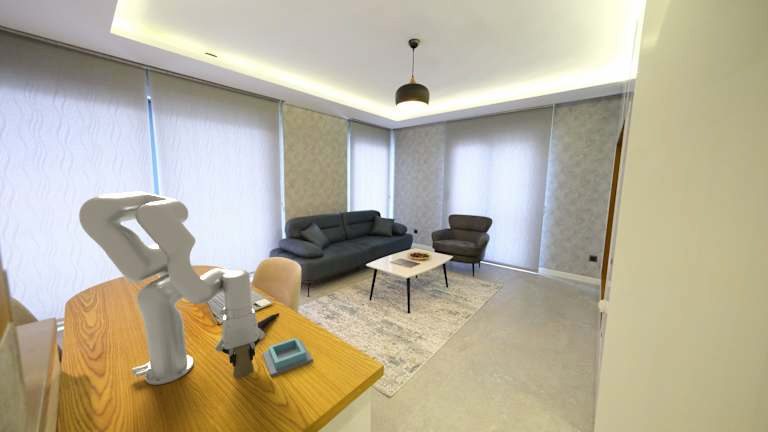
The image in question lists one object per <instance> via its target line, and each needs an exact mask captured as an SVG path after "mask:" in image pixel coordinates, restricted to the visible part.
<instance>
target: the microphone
mask: <svg viewBox="0 0 768 432" xmlns="http://www.w3.org/2000/svg"><path fill="white" fill-rule="evenodd" d="M279 315H280V312H277V313H274V314H271V315H270V316H268V317H266V318H264V319H262V320H260V321H259V322H258V321H257V323H258V328H259V329H261V330H262V331H263V330H265V328H267V326H268V325H269V324H271V323H273V322H274V321H275V320H276V319H277V317H278V316H279Z"/></svg>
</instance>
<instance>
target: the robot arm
mask: <svg viewBox="0 0 768 432" xmlns="http://www.w3.org/2000/svg"><path fill="white" fill-rule="evenodd" d="M79 209H80V210H79V211H78V212H79V214H78V217H79V224H80V226H81V228H82V230H84V232H85V233H86V235H87V236H89V238H91V240H93V241H94V242H95V243H96V244H97V245H98V246H100V248H101V249H102V250H103V251H104V253H105V254H106V255H107V257H108V258H109V259H110V261H111V262H112V263H113V264H114V266H115V267H116V269H118V271H119V272H120V274H122V275H123V277H124V278H125V279H126V280H128V281H129V282H132V283H139V282H142V281H145V280H147V279H150V278H153V277H154V276H157V275H159V276H160V277H158V278H156V279H154V280H152V281H150V282H149V283H147V284H146V285H144V286H143V287H142V288H141V289H140V290H139V292H138V293H137V296H136V299H135V300H136V304H137V308H138V310H139V312H140V313H141V314H140V315H141V317H142V320H143V325H144V331H145V332H144V333H145V337H146V346H147V352H148V358H149V362H148V363H147V362H146V363H145V365H144V364H143V365H140V366H136V367H132V369H131V373H132V375H133V376H134V375H135V377H136V378H139V377H143V376H144V379H145V382H146V383H147V384H149V385H157V386H158V385H163V384H168V383H171V382H174V381H176V380H178V379H180V378H181V377H182V378H183V376H185V375H186V374H188V373H189V371H190V370H191V369H192V368H193V366H194V359H193V357H192V356H190V355H187V354H188V353H187V344H186V343H187V342H186V336H185V327H184V326H185V325H184V318H183V314H182V313H181V311H180V310H179V309H178V307H177V303H179V302H180V301H181V300H183V299H186V300H187V301H188V302H189V303H192V304H195V305H203V304H206V303H208V302H209V301H211V300H212V299H213V298H215V297H216V296H217V295H219V294H220V293H223V301H224V307H223V308H222V309H219V315H220V316H221V315H223V317H222V327H221V329H222V331H221V333H222V335H221V338H220V339H219V341H218V342H217V344H216V345H215V348H214V349H215V350H216V351H218V352H222V353H224V354H226V355H228V357H229V364H232V367H233V368H234V366H235V353H234V351H233V350H234V348H236V347H239V346H242V345H246V344H249V343H250V348H249V351H250V358H251V360H252V361H254V356H256V352H255V351H256V350H255V349H256V347H257V345H258V344H259V343H260V341H261V340H262V339H263V338H264V337H265V336H266V333H265V332H264V331H263V329H262V330H261V329H259V328H258V318H257V313H256V311H255V310H254V308H253V306H252V303H253V302H252V293H251V292H252V291H251V289H252V288H251V277H250V273H249V272H248V271H246V270H243V269H236V270H231V269H226V268H221V267H220V268H219V267H216V268H212V269H210V270H209V271H208V270H207V272H204V273H202V275H200V276H199V275H198V273H197V272H196V271H195V269H194V268H193V266H192V264H191V260H190V259H191V258H190V257H191V252H192V249H193V248H194V246H195V244H196V238H195V237H194V235H193V234H192V233H191V232H190V231H189V229H188V228H187V227H186V226H185V225H184V223H185V222H186V221H187V219H188V218H189V210H188V207H187V206H186V205H185V204H184V203H183V202H182V201H180V200H177V199H174V198H171V197H166V196H162V195H157V194H155V193H154V194H152V193H149V192H148V193H147V192H144V191H131V192H122V193H110V194H109V193H108V194H102V195H98V196H94V197H91V198H90V199H88V200H86V201H85V202H84V203H82V205H81V207H80V208H79ZM132 220H135V221H136V222H137V223H138V224H139V226H140V227H141V229H142V230H143V231H144V232H145V233H146V234H147V235H148V237H150V239H152V241H153V242H154V244H151V245H146V244H145V243H144V242H143V241H142V240H141V238H140V236H139V235H138V234H137V233H136V232H134V231H133V230H132V229H130V228H128V227H126V226H124V225H122V224H121V223H122V222H126V221H132Z"/></svg>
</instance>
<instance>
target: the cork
mask: <svg viewBox="0 0 768 432" xmlns="http://www.w3.org/2000/svg"><path fill="white" fill-rule="evenodd" d="M249 348H250V343H249V344H246V345H242V346H239V347H236V348H234V350H233V351H234V354H235V366H234V367H233V372H232V373H233V374H232V375H233V377H234V378H237V379H242V378H245V377H248V376H250V375H251V374H252V373H253V371H254V365H253V360H251V358H250V351H249Z"/></svg>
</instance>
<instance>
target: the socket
mask: <svg viewBox="0 0 768 432" xmlns="http://www.w3.org/2000/svg"><path fill="white" fill-rule="evenodd" d="M262 357H263V359H264V363H265V365H266V367H267V371H268V373H269V376H270V378H271V377H274V376H278V375H280V374H283V373H285V372H288V371H291V370H293V369H295V368H298V367H300V366H303V365H305V364H308V363H311V362H313V361H314V360H313V357H312V355H311V354H310V352H309V351H308V348H307V347H306V345H305V344H304V342H303V340H302V339H300V340H299V339H298V337H294V338H291V339H288V340H285V341H282V342H278V343H276V344H272V345H269V346H268V350H266V351H263V352H262Z"/></svg>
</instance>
